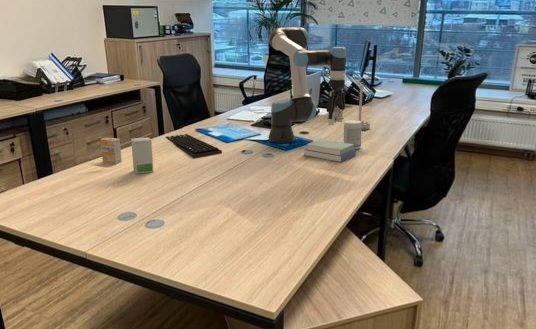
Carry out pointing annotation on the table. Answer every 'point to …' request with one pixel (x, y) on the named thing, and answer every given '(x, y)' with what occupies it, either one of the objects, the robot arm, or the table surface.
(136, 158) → the skincare box
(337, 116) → the game die
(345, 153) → the book pile
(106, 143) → the supplement box
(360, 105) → the flag stand
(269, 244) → the table surface
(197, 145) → the computer keyboard
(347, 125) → the supplement tub
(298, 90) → the robot arm
